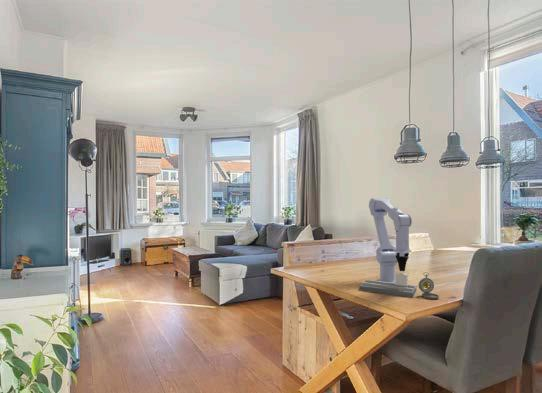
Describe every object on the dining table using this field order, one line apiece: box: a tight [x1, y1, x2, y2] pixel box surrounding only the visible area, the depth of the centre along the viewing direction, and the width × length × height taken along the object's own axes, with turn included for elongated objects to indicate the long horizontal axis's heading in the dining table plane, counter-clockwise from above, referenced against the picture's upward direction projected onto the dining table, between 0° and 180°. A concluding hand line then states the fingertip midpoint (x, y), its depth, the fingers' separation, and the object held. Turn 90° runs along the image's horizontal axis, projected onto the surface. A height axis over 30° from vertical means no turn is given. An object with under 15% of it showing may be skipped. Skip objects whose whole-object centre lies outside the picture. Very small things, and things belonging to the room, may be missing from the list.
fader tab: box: [395, 272, 409, 288], centre depth 155 cm, size 4×5×6 cm
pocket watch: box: [418, 272, 440, 300], centre depth 148 cm, size 8×8×10 cm
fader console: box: [359, 279, 417, 298], centre depth 158 cm, size 12×23×3 cm, turn 60°
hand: (402, 269), depth 159 cm, fingers open, 7 cm apart
